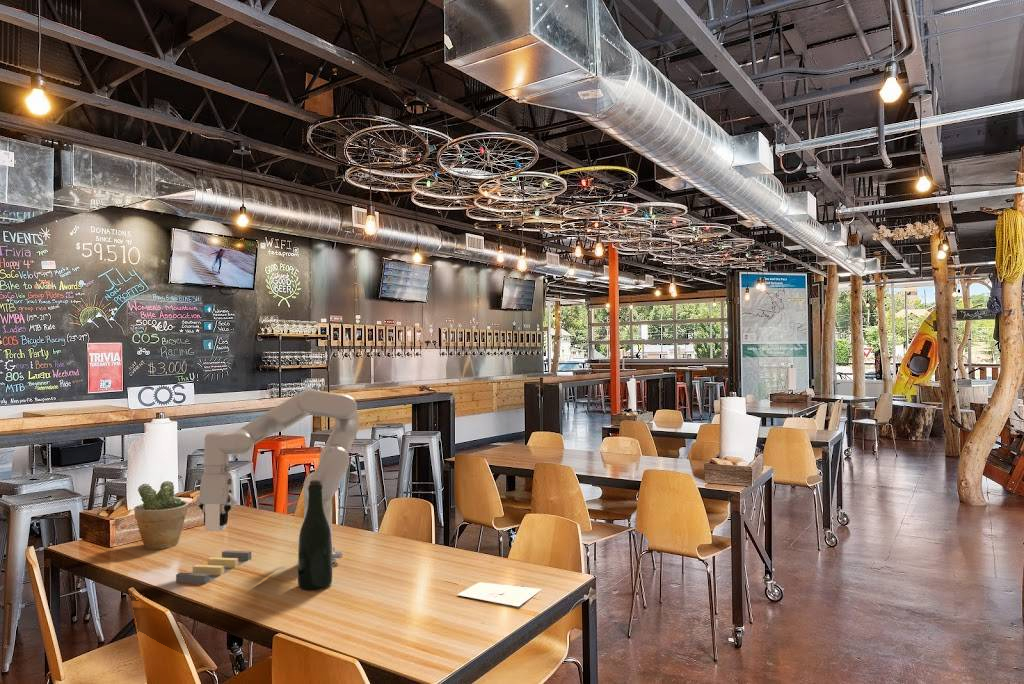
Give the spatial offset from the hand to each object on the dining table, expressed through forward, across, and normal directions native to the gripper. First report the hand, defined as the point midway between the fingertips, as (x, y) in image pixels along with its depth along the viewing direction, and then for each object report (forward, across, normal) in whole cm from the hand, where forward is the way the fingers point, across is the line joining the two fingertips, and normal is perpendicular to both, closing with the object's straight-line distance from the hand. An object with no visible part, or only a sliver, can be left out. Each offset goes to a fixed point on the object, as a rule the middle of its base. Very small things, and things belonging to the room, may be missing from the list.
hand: (215, 524), depth 212 cm
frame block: (+2, 0, 0) cm, 2 cm away
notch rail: (+17, 0, 0) cm, 17 cm away
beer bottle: (+17, -38, +6) cm, 42 cm away
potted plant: (+17, +42, -29) cm, 54 cm away
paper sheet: (+17, -99, 0) cm, 101 cm away
